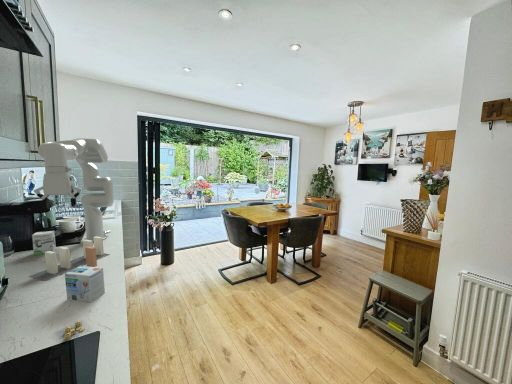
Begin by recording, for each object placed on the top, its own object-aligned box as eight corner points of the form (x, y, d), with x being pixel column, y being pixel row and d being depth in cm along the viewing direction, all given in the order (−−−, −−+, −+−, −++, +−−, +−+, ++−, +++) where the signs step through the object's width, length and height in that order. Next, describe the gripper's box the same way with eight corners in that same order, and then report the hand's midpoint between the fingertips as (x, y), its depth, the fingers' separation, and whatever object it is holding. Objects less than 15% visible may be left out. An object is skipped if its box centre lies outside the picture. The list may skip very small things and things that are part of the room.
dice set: (65, 343, 63) (64, 337, 63) (60, 335, 66) (60, 329, 66) (86, 332, 67) (86, 327, 67) (81, 325, 70) (80, 320, 70)
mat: (95, 252, 126) (95, 251, 126) (110, 255, 122) (110, 254, 122) (28, 277, 98) (28, 276, 98) (45, 282, 94) (45, 281, 94)
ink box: (33, 255, 120) (30, 235, 119) (36, 252, 124) (34, 232, 123) (54, 252, 124) (51, 232, 123) (56, 249, 129) (54, 230, 127)
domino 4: (97, 253, 124) (96, 236, 122) (103, 254, 122) (102, 237, 121) (94, 254, 122) (93, 237, 121) (101, 255, 121) (99, 238, 119)
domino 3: (87, 256, 118) (85, 239, 117) (94, 258, 117) (92, 240, 116) (84, 258, 117) (82, 240, 116) (90, 259, 115) (89, 241, 114)
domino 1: (51, 270, 103) (48, 250, 102) (58, 272, 101) (56, 252, 100) (47, 272, 101) (44, 252, 100) (54, 274, 100) (51, 253, 99)
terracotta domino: (90, 264, 110) (88, 246, 109) (97, 266, 109) (95, 247, 107) (86, 266, 109) (85, 247, 107) (93, 267, 107) (92, 248, 106)
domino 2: (64, 265, 108) (62, 246, 107) (71, 267, 107) (69, 248, 105) (60, 267, 107) (58, 247, 105) (67, 268, 105) (65, 249, 104)
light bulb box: (66, 300, 82) (63, 273, 81) (82, 289, 89) (80, 265, 87) (91, 303, 81) (88, 275, 79) (105, 292, 87) (103, 267, 86)
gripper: (82, 170, 106) (85, 204, 108) (36, 170, 99) (40, 206, 101) (77, 170, 99) (80, 207, 101) (27, 170, 92) (31, 209, 94)
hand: (60, 207), depth 101 cm, fingers open, 9 cm apart
